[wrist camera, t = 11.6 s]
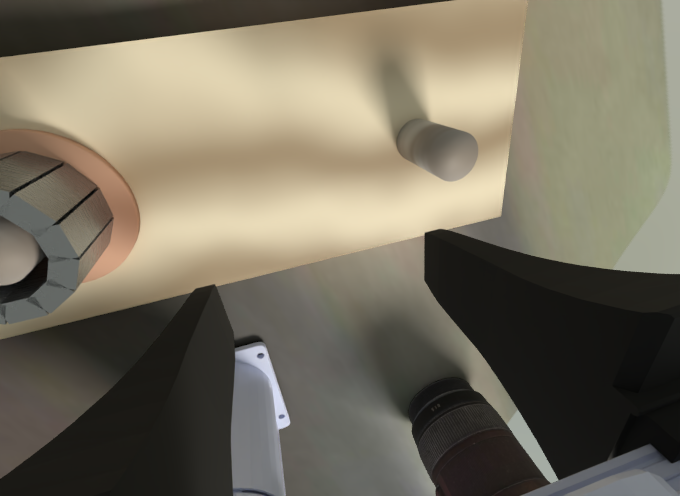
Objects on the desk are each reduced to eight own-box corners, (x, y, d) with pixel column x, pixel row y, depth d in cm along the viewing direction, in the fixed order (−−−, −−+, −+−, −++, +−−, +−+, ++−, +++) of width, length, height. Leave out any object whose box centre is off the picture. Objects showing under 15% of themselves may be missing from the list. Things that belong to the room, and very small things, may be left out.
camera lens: (458, 426, 36) (579, 623, 23) (391, 432, 33) (485, 659, 21) (489, 370, 33) (649, 564, 20) (417, 373, 30) (548, 598, 17)
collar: (139, 216, 16) (112, 258, 13) (61, 287, 17) (15, 345, 13) (15, 123, 13) (-63, 143, 10) (-73, 212, 14) (-175, 261, 10)
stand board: (486, 208, 24) (553, 246, 19) (4, 323, 19) (-82, 418, 14) (508, -4, 18) (615, -32, 13) (-194, 85, 13) (-476, 99, 8)
